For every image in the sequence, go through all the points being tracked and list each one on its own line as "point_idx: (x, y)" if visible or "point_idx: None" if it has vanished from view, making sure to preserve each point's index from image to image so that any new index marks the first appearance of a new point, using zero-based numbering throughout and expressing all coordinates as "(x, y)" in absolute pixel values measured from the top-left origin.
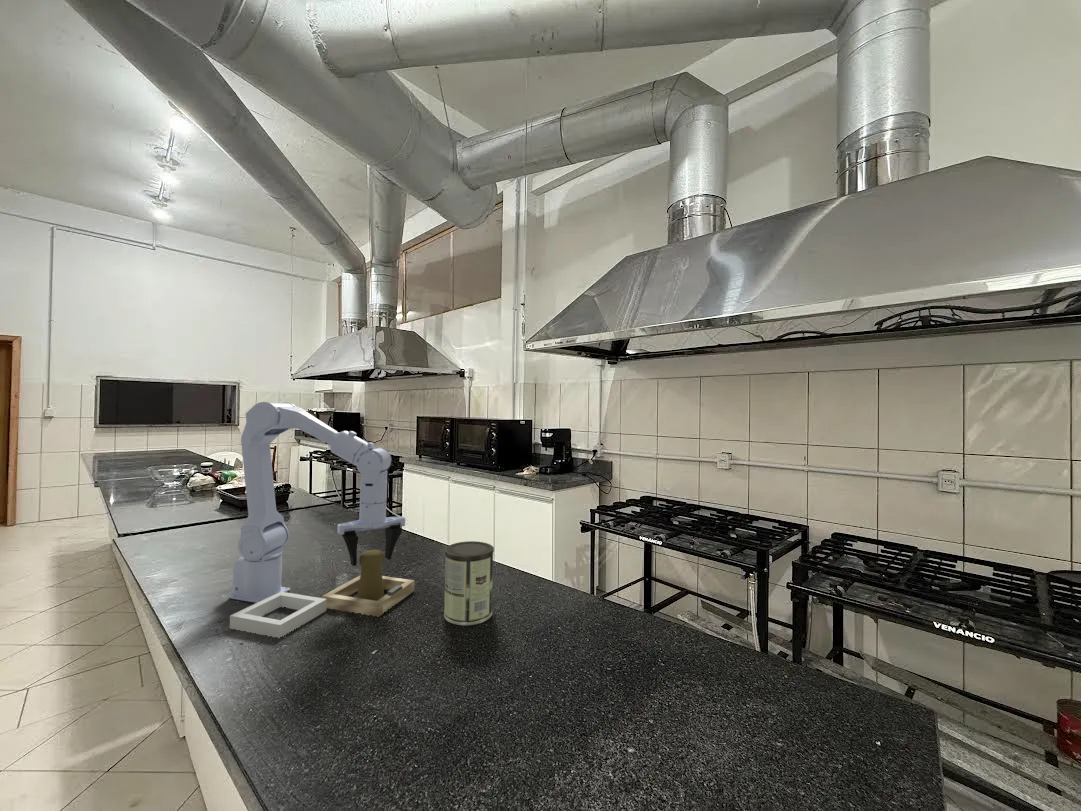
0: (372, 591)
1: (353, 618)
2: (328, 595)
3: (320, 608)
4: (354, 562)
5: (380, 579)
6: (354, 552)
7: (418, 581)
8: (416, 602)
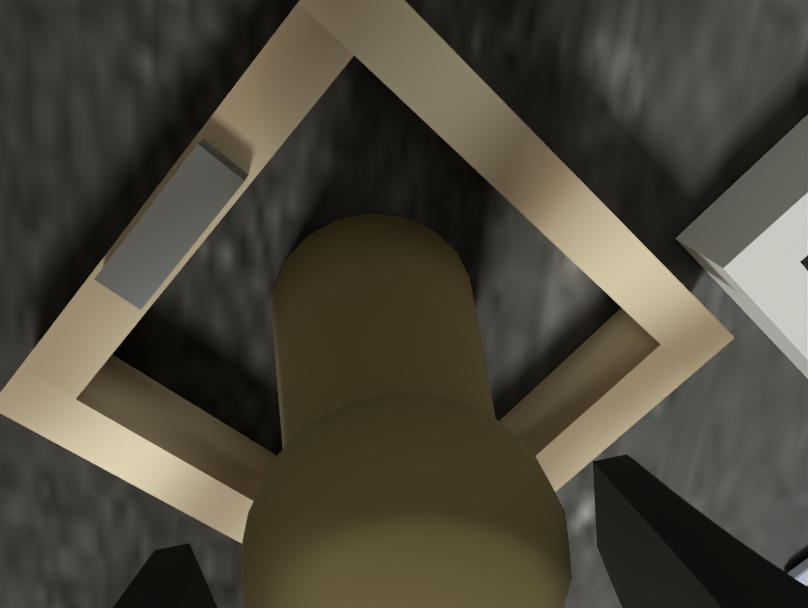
0: (376, 261)
1: (532, 22)
2: (696, 329)
3: (748, 204)
4: (640, 478)
5: (300, 344)
6: (740, 579)
7: (7, 509)
8: (3, 130)
